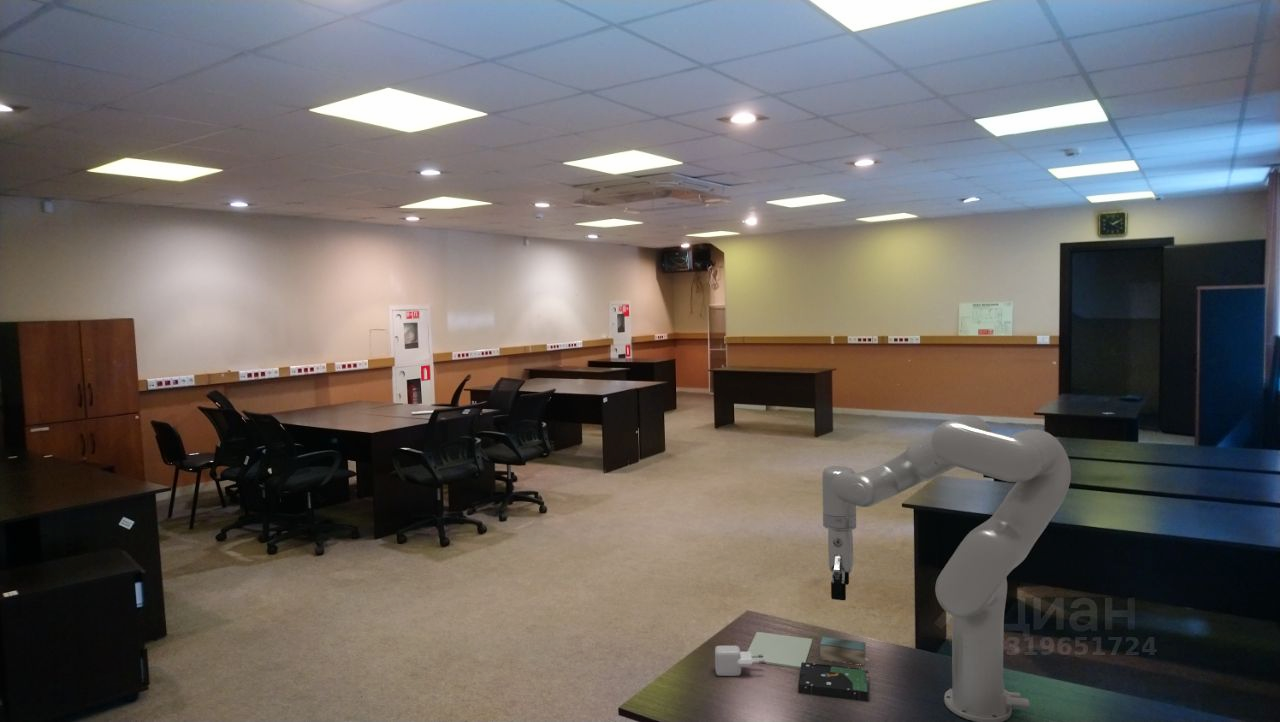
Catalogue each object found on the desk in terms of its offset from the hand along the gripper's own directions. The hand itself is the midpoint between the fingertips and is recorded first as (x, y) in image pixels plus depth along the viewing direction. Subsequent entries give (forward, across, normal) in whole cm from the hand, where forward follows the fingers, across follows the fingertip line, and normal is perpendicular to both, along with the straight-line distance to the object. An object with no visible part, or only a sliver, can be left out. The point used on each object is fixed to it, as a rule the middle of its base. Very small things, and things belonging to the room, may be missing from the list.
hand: (840, 591), depth 170 cm
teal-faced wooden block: (+17, 0, 0) cm, 17 cm away
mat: (+16, 0, +15) cm, 22 cm away
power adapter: (+17, -13, +22) cm, 30 cm away
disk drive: (+17, -13, 0) cm, 21 cm away
